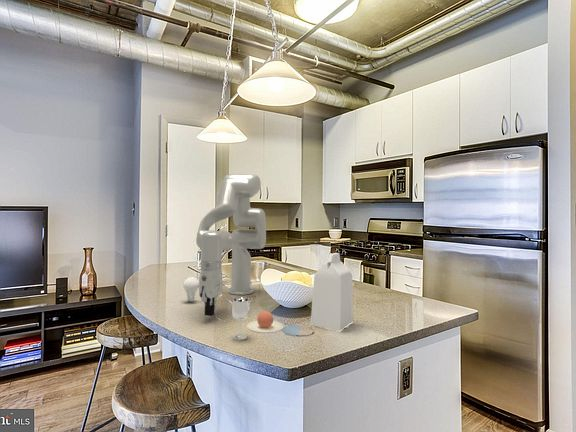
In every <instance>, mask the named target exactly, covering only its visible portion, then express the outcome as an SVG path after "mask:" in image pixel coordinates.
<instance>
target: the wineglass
mask: <svg viewBox="0 0 576 432" xmlns="http://www.w3.org/2000/svg"><path fill="white" fill-rule="evenodd" d="M250 310H251V309H250V300H249V299H248V298H246V297H245V298H244V297H237V298H234V299H233V301H232V305H231V315H232V318H233V319H235V320H237V321H238V327H239V328H238V329H239V330H238V334H235V335H233V336H232V339H233V340H238V341H239V340H240V341H242V340H246V339H247V337H248V336H247V335H245V334H242V330H241V329H242V325H243V322H242V321H243V320H245V319H247V318H248V317H249V315H250V312H251V311H250Z"/></svg>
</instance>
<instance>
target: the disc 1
mask: <svg viewBox="0 0 576 432" xmlns="http://www.w3.org/2000/svg"><path fill="white" fill-rule="evenodd" d="M284 327H285V326H284V324H283V323H281V322H279V321H276V320H273V323H272V325H271V326H270V327H268V328H262V327H260V326H259V324H258V322H257V320H254V321H250V322H248V323H247V325H246V328H247V329H248V330H250V331H252V332H256V333H264V334H267V333H268V334H269V333H276V332H279V331H282V329H283V328H284Z"/></svg>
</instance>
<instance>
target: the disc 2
mask: <svg viewBox="0 0 576 432" xmlns="http://www.w3.org/2000/svg"><path fill="white" fill-rule="evenodd" d="M297 325H298V324H290V325H286V326H284V328H283V329H282V330H281V331H282V333H284V334H285V333H286V334H285V335H288V334H289V336H292V335H294V337H297V336H296V335H297V333H298V334H299V332H298V330H301V327H302V326H301V327H300V326H297Z"/></svg>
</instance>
